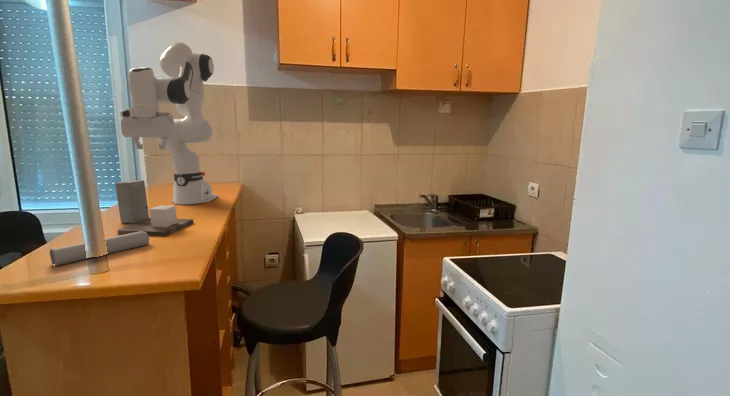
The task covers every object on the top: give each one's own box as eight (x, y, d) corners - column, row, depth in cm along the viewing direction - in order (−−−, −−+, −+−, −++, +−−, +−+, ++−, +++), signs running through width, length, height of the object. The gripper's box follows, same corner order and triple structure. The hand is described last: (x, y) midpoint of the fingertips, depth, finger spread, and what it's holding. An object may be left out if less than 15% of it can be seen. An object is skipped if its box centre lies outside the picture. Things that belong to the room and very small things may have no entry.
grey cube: (162, 222, 146) (160, 205, 145) (177, 222, 145) (175, 205, 144) (151, 226, 140) (149, 209, 139) (167, 227, 139) (165, 209, 138)
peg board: (150, 221, 153) (148, 205, 152) (193, 223, 150) (191, 206, 149) (118, 234, 136) (115, 216, 135) (165, 236, 134) (163, 217, 133)
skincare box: (134, 224, 150) (129, 183, 146) (118, 223, 151) (113, 182, 148) (150, 218, 158) (146, 179, 154) (135, 217, 159) (130, 179, 156)
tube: (143, 230, 128) (48, 249, 109) (149, 228, 124) (52, 247, 106) (147, 246, 128) (52, 268, 109) (153, 244, 124) (57, 266, 105)
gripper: (177, 112, 149) (181, 148, 152) (128, 112, 151) (133, 148, 154) (166, 112, 143) (171, 150, 146) (115, 112, 145) (121, 149, 148)
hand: (151, 149), depth 150 cm, fingers open, 8 cm apart
